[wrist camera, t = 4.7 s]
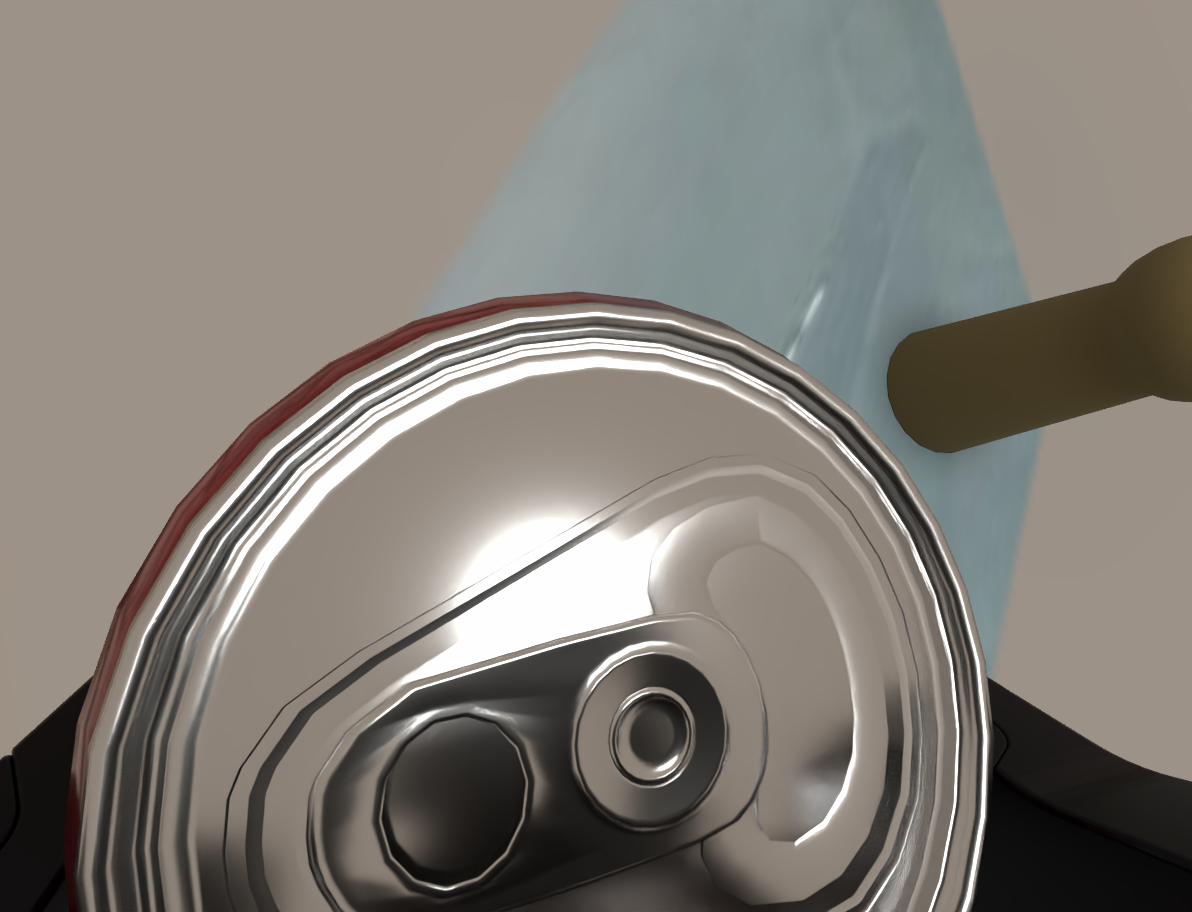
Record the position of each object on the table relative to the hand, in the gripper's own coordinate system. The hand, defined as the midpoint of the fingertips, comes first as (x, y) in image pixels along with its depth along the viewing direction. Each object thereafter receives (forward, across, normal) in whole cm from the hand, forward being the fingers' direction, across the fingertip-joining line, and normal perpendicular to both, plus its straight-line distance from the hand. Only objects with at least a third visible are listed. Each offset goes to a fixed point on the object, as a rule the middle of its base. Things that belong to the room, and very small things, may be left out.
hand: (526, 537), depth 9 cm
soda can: (+4, 0, +6) cm, 7 cm away
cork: (+11, -21, +3) cm, 24 cm away
